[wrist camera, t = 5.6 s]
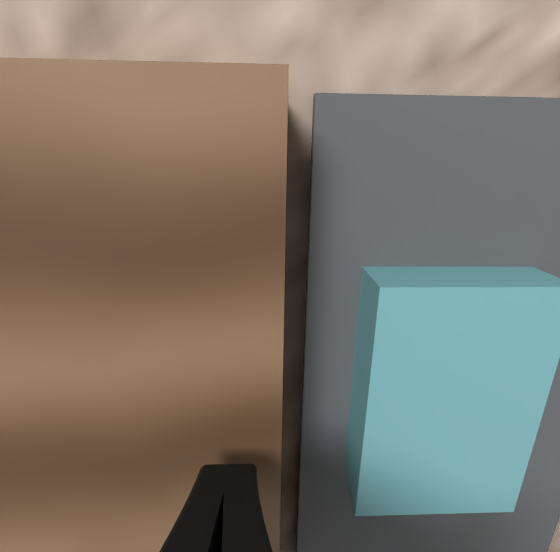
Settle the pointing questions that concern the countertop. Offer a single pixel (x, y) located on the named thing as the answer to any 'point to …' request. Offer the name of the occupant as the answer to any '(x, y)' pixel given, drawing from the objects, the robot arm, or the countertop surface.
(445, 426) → the thick teal block
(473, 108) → the mat
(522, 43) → the countertop surface
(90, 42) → the countertop surface
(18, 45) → the countertop surface
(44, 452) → the brown flat block
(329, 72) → the countertop surface
